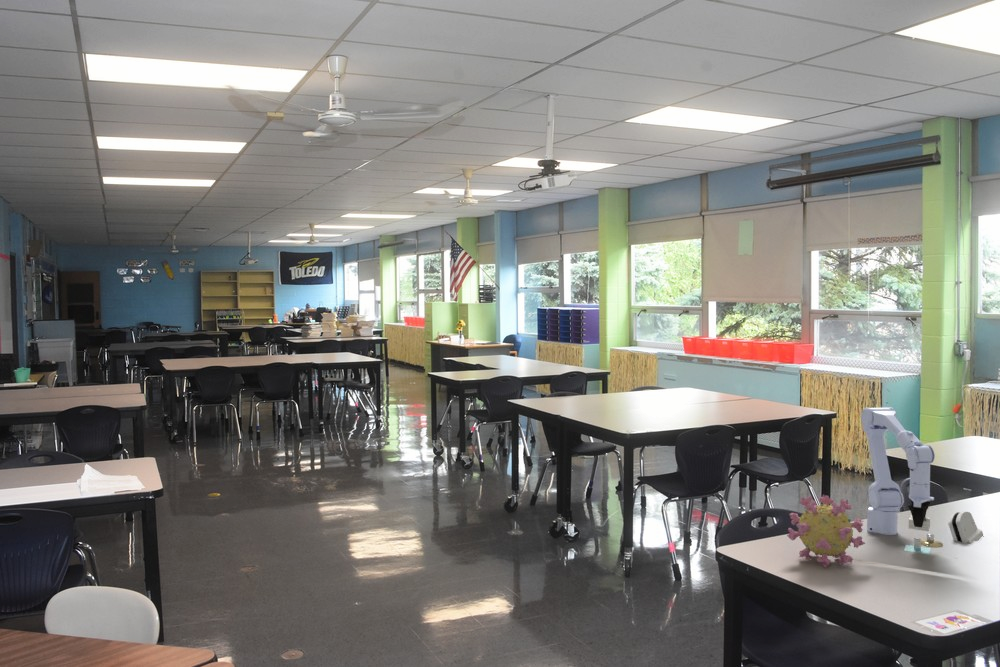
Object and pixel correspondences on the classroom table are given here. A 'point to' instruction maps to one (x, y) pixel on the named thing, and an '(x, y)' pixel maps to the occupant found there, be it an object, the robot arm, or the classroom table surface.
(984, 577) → the classroom table surface
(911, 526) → the hollow square metal tube
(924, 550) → the stand
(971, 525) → the hinge
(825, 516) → the educational model
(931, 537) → the hub
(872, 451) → the robot arm
